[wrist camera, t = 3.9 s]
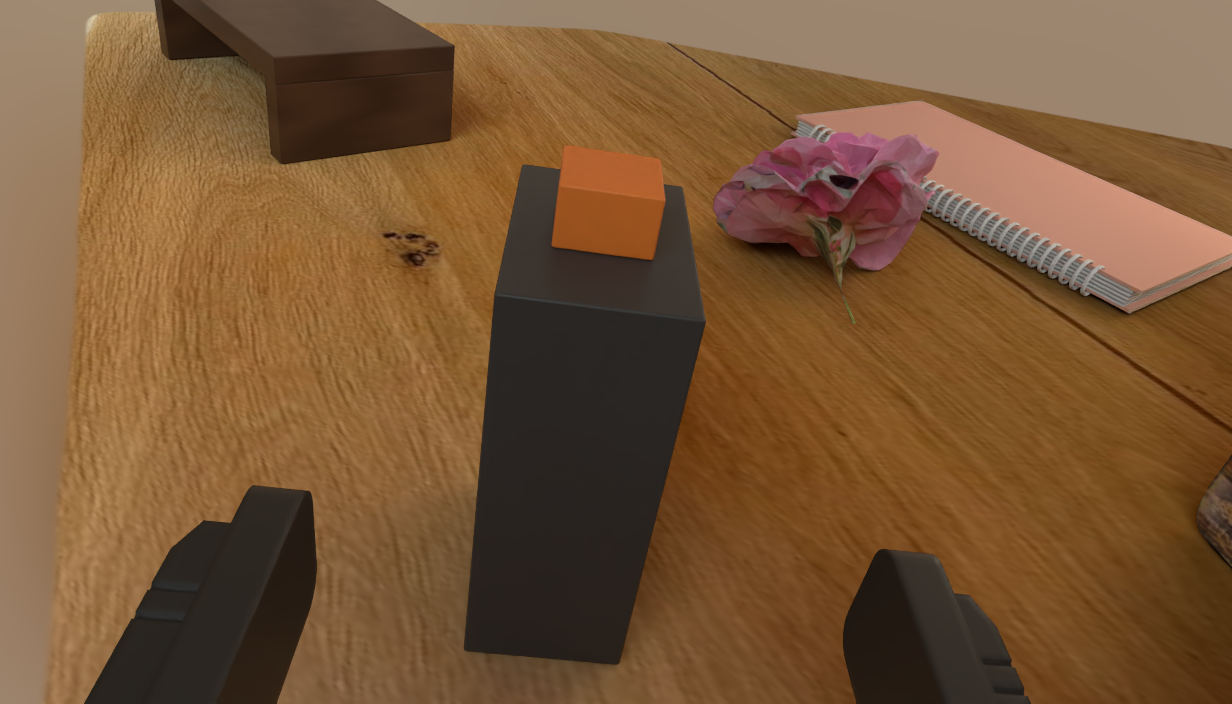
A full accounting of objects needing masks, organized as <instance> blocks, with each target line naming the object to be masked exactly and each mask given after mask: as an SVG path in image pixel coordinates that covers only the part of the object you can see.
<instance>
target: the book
mask: <svg viewBox="0 0 1232 704" xmlns="http://www.w3.org/2000/svg"><path fill="white" fill-rule="evenodd" d="M1196 522H1197V526H1198V529H1199V531H1200V533H1201V534H1202V535H1203V536H1204V538H1205V539H1206V540H1207V541H1208V542H1209V543H1210V544H1211V545H1212V546H1213V547H1214V548H1215V549H1216V550H1217V551H1218V552H1219V553H1220V554H1221V556H1222V557H1223V558H1224V559H1225V560H1226V561H1227V562H1228V563H1229V564H1230V565H1231V566H1232V455H1231V457H1230V458H1229V459H1228V461H1227V462H1226V463H1225V465H1224V466H1223V468H1222V469H1221V470H1220V472H1219V473H1218V474H1217V476H1216V477H1215V479H1214V480H1213V481H1212V483H1211V484H1210V485H1209V487H1208V489H1207V492H1206V494H1205V495H1204V497H1203V498H1202V500H1201V502H1200V504H1199V507H1198V510H1197V515H1196Z"/></svg>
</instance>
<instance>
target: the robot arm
mask: <svg viewBox="0 0 1232 704" xmlns="http://www.w3.org/2000/svg"><path fill="white" fill-rule="evenodd" d="M316 574H317V560H316V545H315V529H314V514H313V500H312V495H311V493H310V491H304V490H294V489H285V488H275V487H266V486H256V485H253V486H251V487H250V488H249V489H248V491H247V492H246V494H245V496H244V498H243V500H242V502H241V504H240V506H239V508H238V510H237V512H236V514H235V516H234V518H233V520H232V522H231V523H225V522H215V521H205V520H204V521H203V522H201V523H200V524H199V525H198V526H197V527H196V528H194V529H193V530H192V531H191V532H190V533H189V534H187V535H186V536H185V537H184V538H183V539H181V540H180V541H179V542H178V543H177V544H176V545H174V546H173V547H172V548H171V549H170V551H169V553H168V555H167V556H166V558H165V560H164V562H163V563H162V565H161V567H160V569H159V571H158V572H157V574H156V576H155V578H154V580H153V581H152V586H151V589H150V590H147V592H146V594H145V596H144V597H143V599H142V601H141V603H140V605H139V606H138V608H137V610H136V615H135V618H134V619H131V621H130V622H129V624H128V626H127V628H126V630H125V631H124V633H123V635H122V637H121V638H120V640H119V642H118V644H117V646H116V647H115V649H114V651H113V653H112V655H111V656H110V658H109V660H108V662H107V663H106V665H105V667H104V669H103V671H102V672H101V674H100V676H99V678H98V679H97V681H96V683H95V685H94V687H93V688H92V690H91V692H90V694H89V696H88V697H87V699H86V701H85V703H84V704H277V701H278V698H279V695H280V692H281V690H282V687H283V684H284V681H285V678H286V675H287V673H288V670H289V667H290V664H291V661H292V659H293V656H294V653H295V650H296V647H297V644H298V642H299V639H300V636H301V633H302V630H303V628H304V625H305V622H306V619H307V616H308V613H309V610H310V607H311V603H312V599H313V595H314V590H315V583H316ZM843 649H844V656H845V661H846V665H847V669H848V672H849V676H850V680H851V684H852V688H853V691H854V695H855V699H856V703H857V704H1031V703H1030V701H1029V698H1028V696H1025V695H1024V687H1023V685H1022V683H1021V680H1020V678H1019V676H1018V674H1017V672H1016V669H1015V668H1013V667H1012V666H1011V661H1012V660H1011V658H1010V656H1009V654H1008V652H1007V649H1006V647H1005V645H1004V643H1003V640H1002V638H1001V636H1000V634H999V631H998V629H997V627H996V626H995V624H994V623H993V622H992V621H991V620H990V619H989V618H988V616H987V615H986V614H985V613H984V612H983V611H982V609H981V608H980V607H979V606H978V605H977V604H976V603H975V601H974V600H973V599H972V598H971V597H970V596H969V595H964V594H954V592H953V590H952V588H951V585H950V583H949V580H948V578H947V576H946V573H945V571H944V568H943V566H942V564H941V562H940V560H939V559H938V558H937V557H936V556H935V555H933V554H926V553H917V552H907V551H898V550H888V549H881V550H879V551H878V552H877V553H876V554H875V556H874V558H873V560H872V562H871V564H870V566H869V569H868V571H867V573H866V575H865V577H864V579H863V581H862V584H861V586H860V588H859V590H858V592H857V594H856V596H855V599H854V601H853V603H852V605H851V607H850V609H849V611H848V614H847V616H846V620H845V624H844V631H843Z"/></svg>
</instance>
